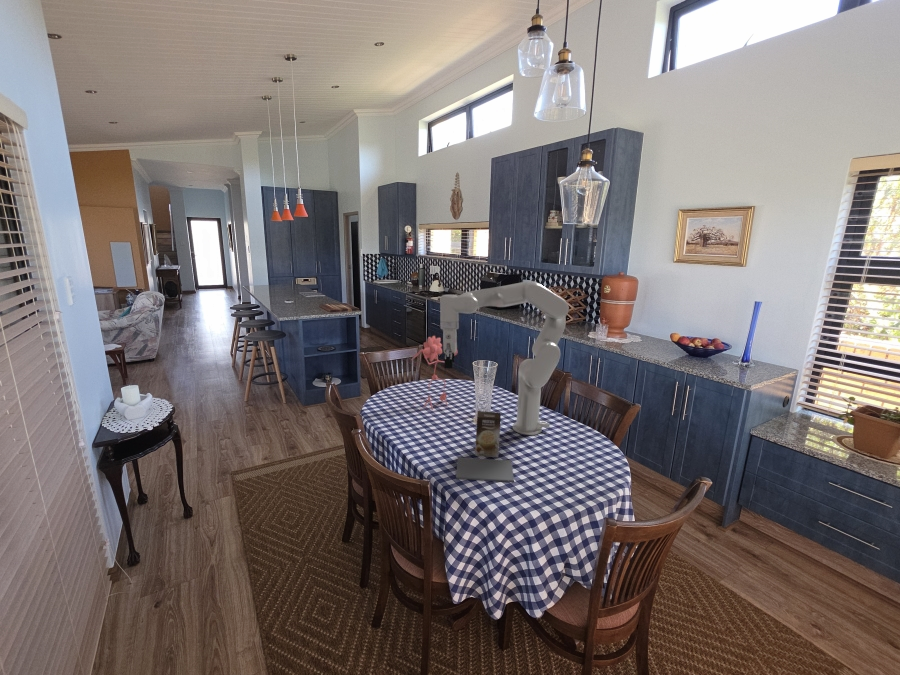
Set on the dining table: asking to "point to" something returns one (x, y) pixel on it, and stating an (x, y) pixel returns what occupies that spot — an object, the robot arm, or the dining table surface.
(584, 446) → the dining table surface
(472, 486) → the dining table surface
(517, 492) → the dining table surface
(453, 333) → the robot arm
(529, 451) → the dining table surface
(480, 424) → the coffee box
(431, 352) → the pink stick figure toy
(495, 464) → the mat
